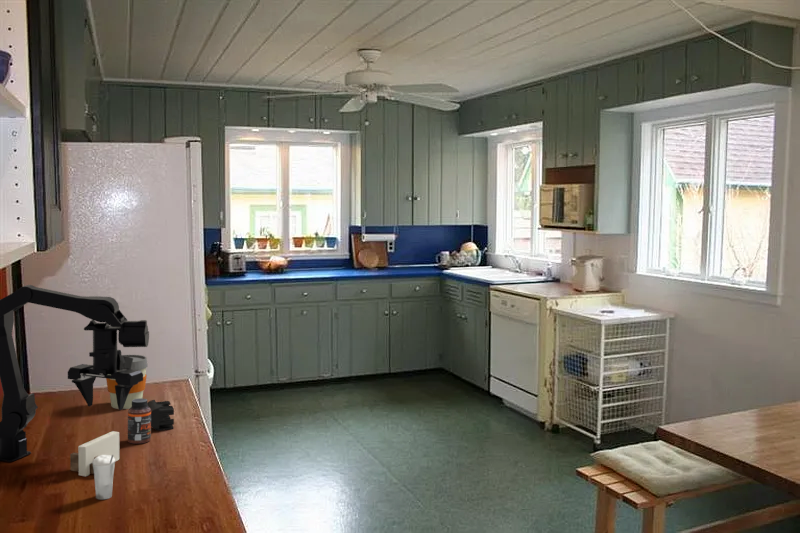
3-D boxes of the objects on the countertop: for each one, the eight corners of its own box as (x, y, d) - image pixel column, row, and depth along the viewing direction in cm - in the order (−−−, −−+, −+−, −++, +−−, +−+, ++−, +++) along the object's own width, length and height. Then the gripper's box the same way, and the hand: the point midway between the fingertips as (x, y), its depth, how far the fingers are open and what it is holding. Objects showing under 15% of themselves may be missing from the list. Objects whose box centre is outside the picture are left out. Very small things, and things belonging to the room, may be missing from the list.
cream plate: (85, 476, 166) (85, 447, 165) (78, 475, 166) (78, 446, 166) (119, 459, 177) (119, 432, 177) (112, 458, 178) (112, 431, 177)
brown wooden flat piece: (70, 470, 169) (70, 454, 169) (74, 468, 170) (73, 452, 170) (106, 475, 166) (105, 459, 166) (109, 473, 167) (109, 457, 167)
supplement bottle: (143, 445, 188) (143, 403, 187) (123, 443, 189) (122, 402, 188) (155, 438, 193) (155, 398, 192) (135, 436, 195) (135, 396, 194)
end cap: (143, 423, 207) (143, 400, 207) (168, 420, 210) (168, 398, 210) (147, 433, 198) (147, 409, 198) (174, 430, 202) (174, 406, 201)
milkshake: (103, 503, 151) (103, 458, 150) (88, 497, 154) (87, 452, 153) (122, 496, 155) (121, 452, 154) (106, 491, 157) (106, 447, 157)
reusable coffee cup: (120, 398, 232) (120, 353, 231) (155, 401, 230) (155, 356, 228) (96, 408, 220) (96, 361, 219) (133, 412, 217) (133, 364, 216)
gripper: (156, 344, 184) (156, 403, 185) (96, 339, 189) (96, 396, 190) (128, 352, 173) (128, 415, 174) (65, 346, 178) (66, 407, 180)
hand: (105, 407), depth 180 cm, fingers open, 9 cm apart
